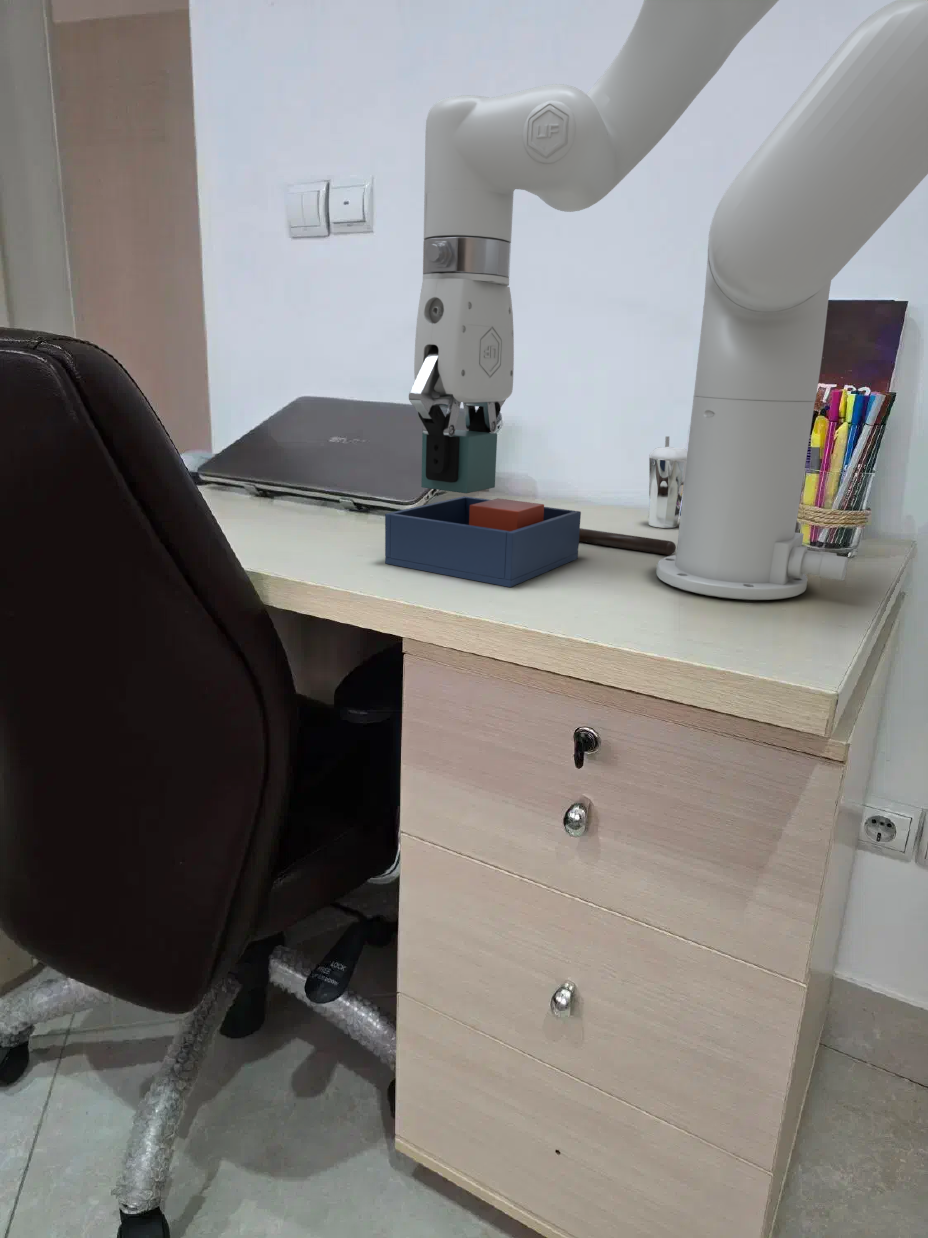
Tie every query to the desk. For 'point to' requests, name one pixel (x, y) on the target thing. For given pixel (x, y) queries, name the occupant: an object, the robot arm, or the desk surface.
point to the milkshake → (666, 484)
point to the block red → (505, 514)
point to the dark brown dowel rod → (627, 541)
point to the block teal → (468, 463)
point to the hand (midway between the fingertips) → (459, 475)
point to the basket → (479, 543)
